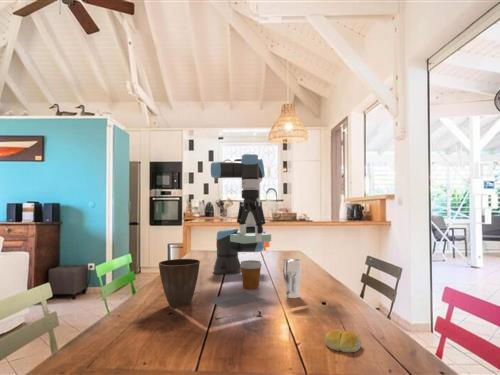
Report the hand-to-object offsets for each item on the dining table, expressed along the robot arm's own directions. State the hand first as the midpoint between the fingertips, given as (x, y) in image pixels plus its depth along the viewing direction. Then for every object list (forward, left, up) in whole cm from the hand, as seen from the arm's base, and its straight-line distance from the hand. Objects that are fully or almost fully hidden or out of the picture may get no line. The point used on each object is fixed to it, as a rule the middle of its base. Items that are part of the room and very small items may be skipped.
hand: (250, 240), depth 149 cm
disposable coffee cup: (0, 0, -22) cm, 22 cm away
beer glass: (+20, +6, -22) cm, 30 cm away
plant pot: (+3, -34, -22) cm, 40 cm away
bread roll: (+61, -13, -22) cm, 66 cm away
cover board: (0, 0, -1) cm, 1 cm away
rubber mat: (+11, -15, -21) cm, 28 cm away
